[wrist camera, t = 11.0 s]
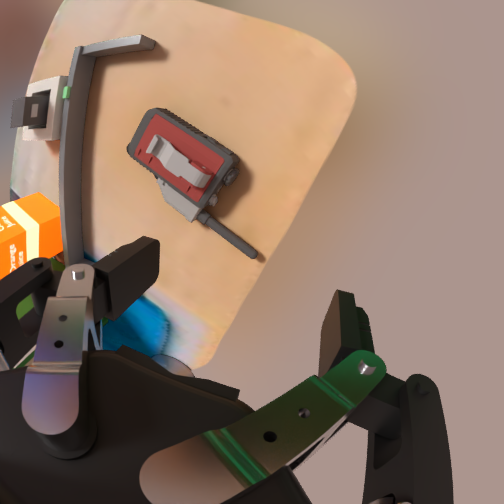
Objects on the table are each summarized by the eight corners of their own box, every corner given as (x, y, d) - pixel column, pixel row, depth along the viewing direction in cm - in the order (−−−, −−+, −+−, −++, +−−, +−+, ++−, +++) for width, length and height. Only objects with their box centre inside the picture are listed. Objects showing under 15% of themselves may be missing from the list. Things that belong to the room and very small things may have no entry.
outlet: (74, 137, 31) (51, 140, 27) (43, 136, 32) (22, 140, 28) (82, 77, 27) (60, 75, 23) (49, 84, 28) (28, 84, 24)
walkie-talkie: (126, 162, 31) (253, 259, 32) (104, 167, 27) (244, 276, 28) (158, 101, 27) (301, 200, 28) (136, 97, 23) (298, 209, 24)
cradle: (131, 284, 38) (115, 298, 34) (80, 262, 39) (63, 273, 36) (155, 40, 24) (136, 32, 20) (92, 50, 25) (72, 46, 22)
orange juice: (38, 191, 36) (-54, 230, 18) (66, 212, 36) (-36, 263, 18) (36, 228, 40) (-45, 273, 22) (63, 251, 40) (-24, 307, 22)
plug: (65, 121, 30) (23, 126, 23) (50, 122, 30) (10, 128, 23) (68, 95, 28) (26, 96, 21) (53, 98, 29) (13, 100, 22)
